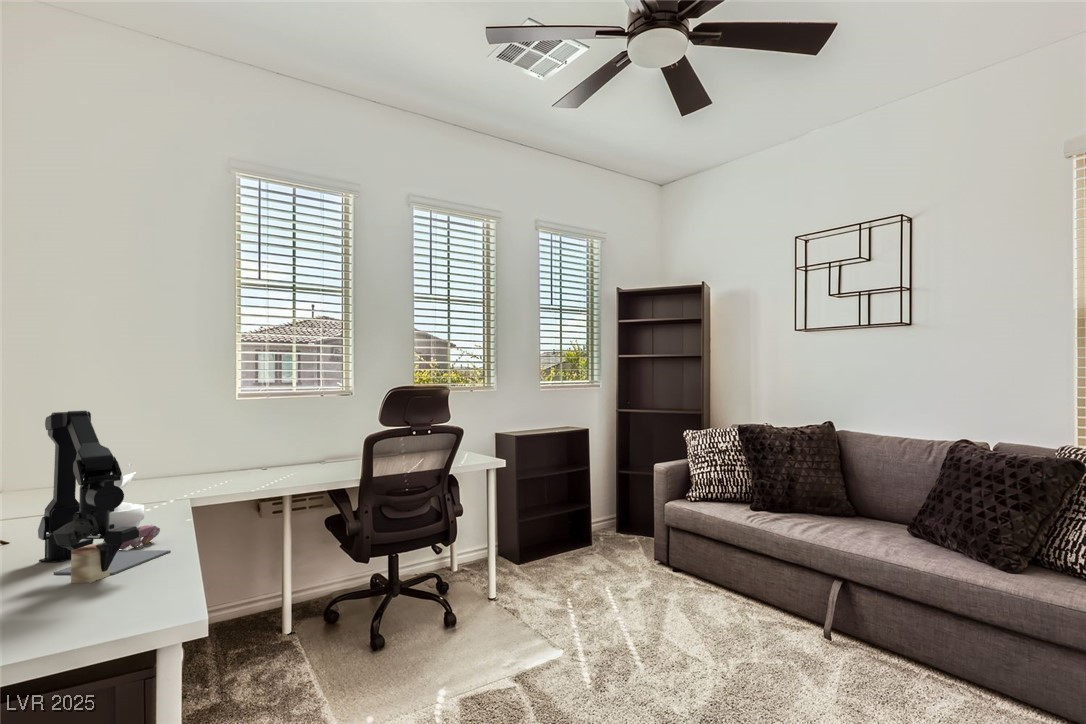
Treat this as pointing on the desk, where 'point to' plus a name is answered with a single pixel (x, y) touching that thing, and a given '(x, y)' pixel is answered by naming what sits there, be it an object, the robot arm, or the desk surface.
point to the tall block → (87, 565)
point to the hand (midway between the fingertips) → (94, 571)
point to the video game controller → (144, 532)
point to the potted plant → (126, 507)
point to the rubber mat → (126, 560)
